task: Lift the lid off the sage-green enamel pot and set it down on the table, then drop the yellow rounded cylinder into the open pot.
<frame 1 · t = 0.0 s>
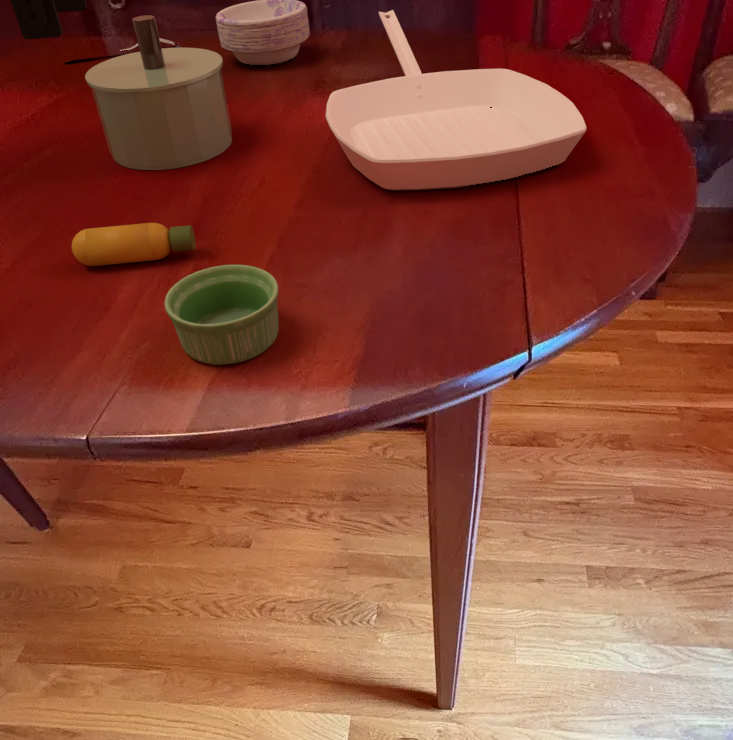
hand: (57, 23, 64), 20 cm above the table, tool pointing down, fingers open, 9 cm apart
chocolate cake: (178, 107, 107), on the table
pot: (172, 145, 95), on the table
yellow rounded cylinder: (127, 260, 71), on the table
lid: (155, 70, 89), point 9 cm above the table, touching pot
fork: (124, 55, 132), on the table
pan: (429, 125, 96), on the table
ramekin: (231, 339, 60), on the table
paper bowls: (268, 60, 124), on the table
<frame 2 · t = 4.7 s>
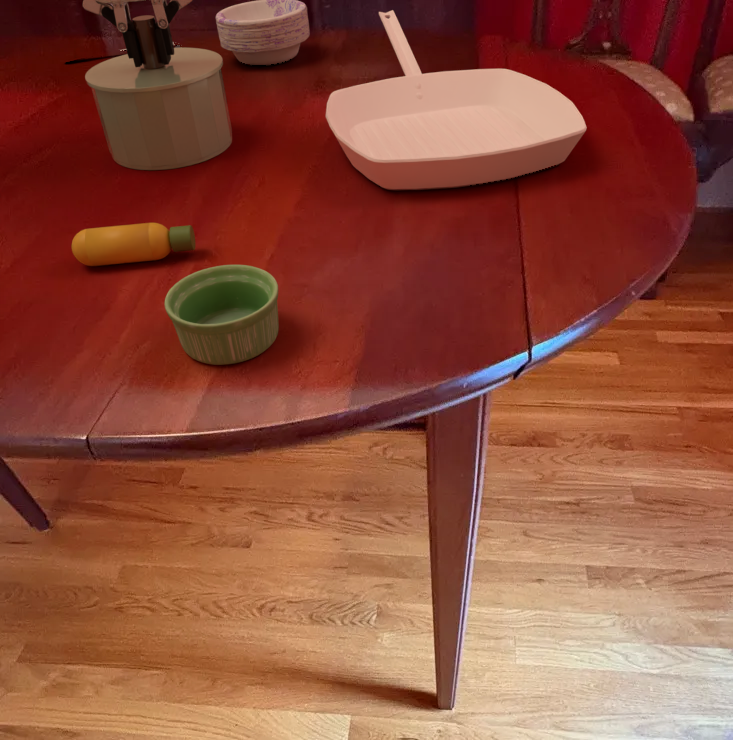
hand: (153, 61, 88), 11 cm above the table, tool pointing down, fingers closed on lid, 2 cm apart
lid: (155, 70, 89), point 10 cm above the table, touching gripper, pot
everything else where it was.
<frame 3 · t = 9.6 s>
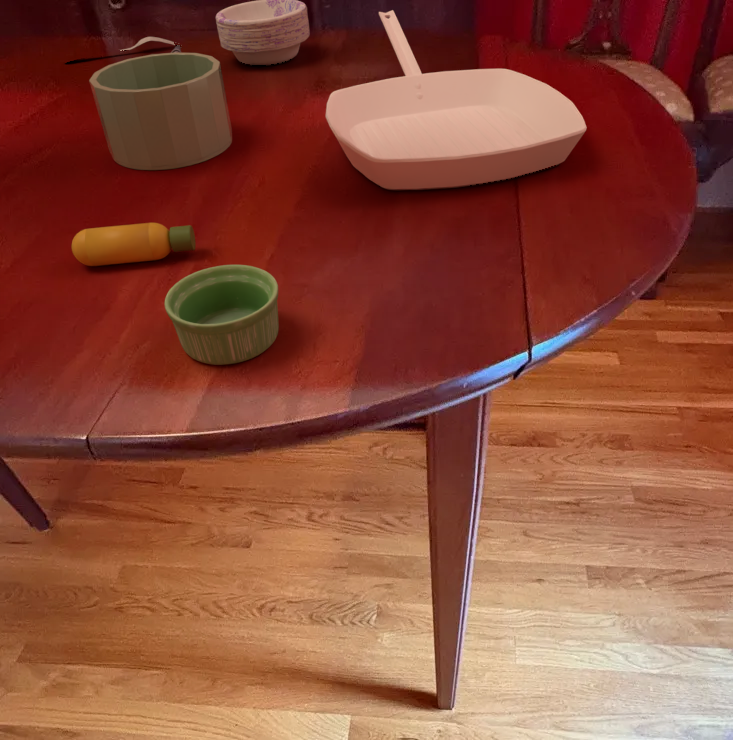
when the fingers open (2 cm above the table, at t = 14.6 s): lid stays where it is, point 1 cm above the table.
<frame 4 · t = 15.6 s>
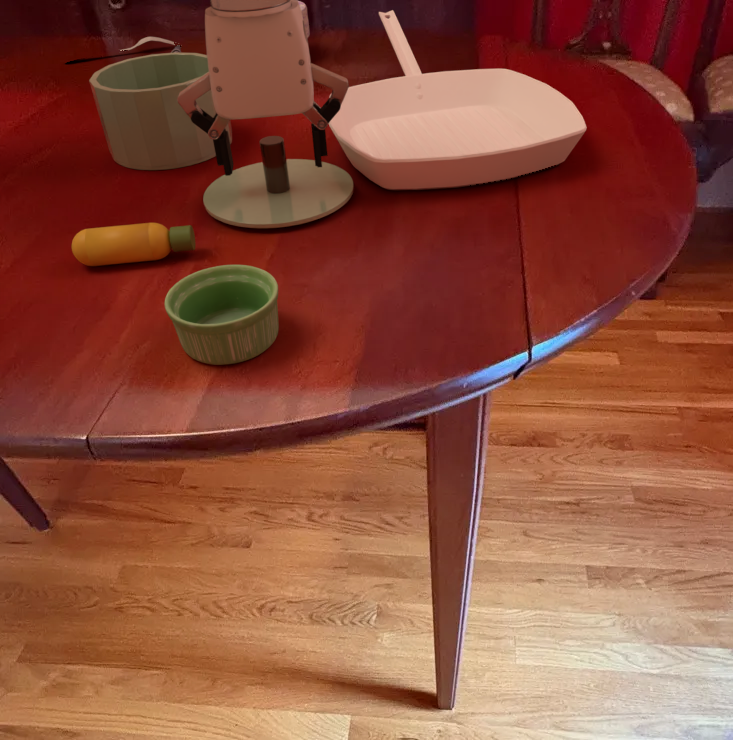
hand: (274, 166, 78), 4 cm above the table, tool pointing down, fingers open, 9 cm apart
lid: (279, 193, 80), point 1 cm above the table
everything else where it was.
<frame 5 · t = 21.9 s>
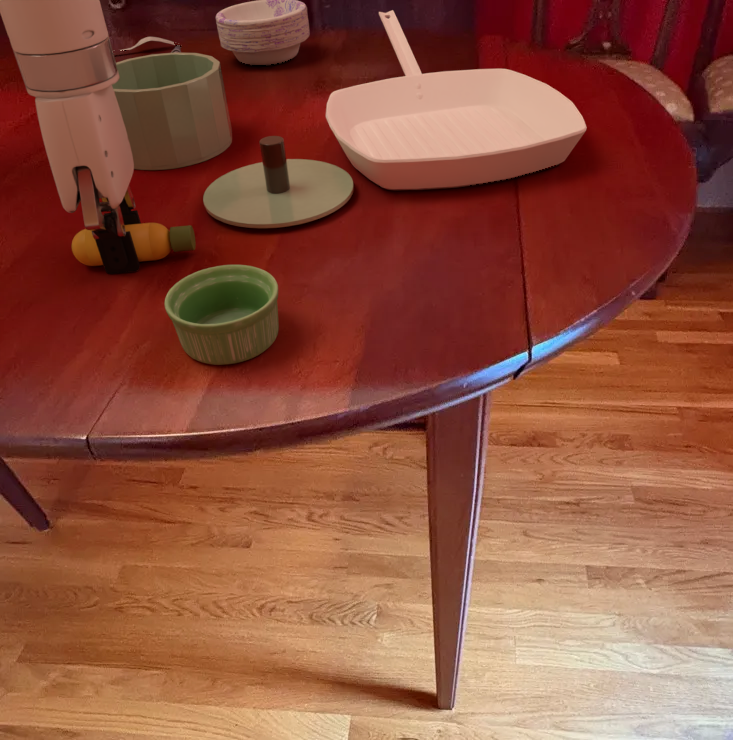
hand: (126, 258, 71), 0 cm above the table, tool pointing down, fingers closed on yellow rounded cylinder, 3 cm apart
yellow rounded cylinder: (127, 260, 71), on the table, touching gripper
everything else where it was.
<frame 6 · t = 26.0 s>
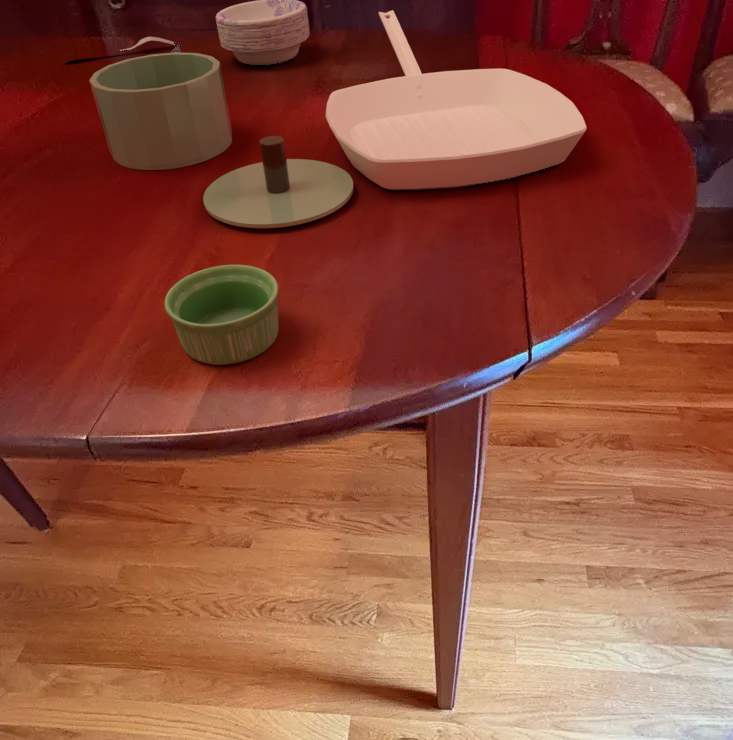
when the fingers open (7 cm above the table, at t = 30.4 s): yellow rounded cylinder drops 6 cm, resting on pot.
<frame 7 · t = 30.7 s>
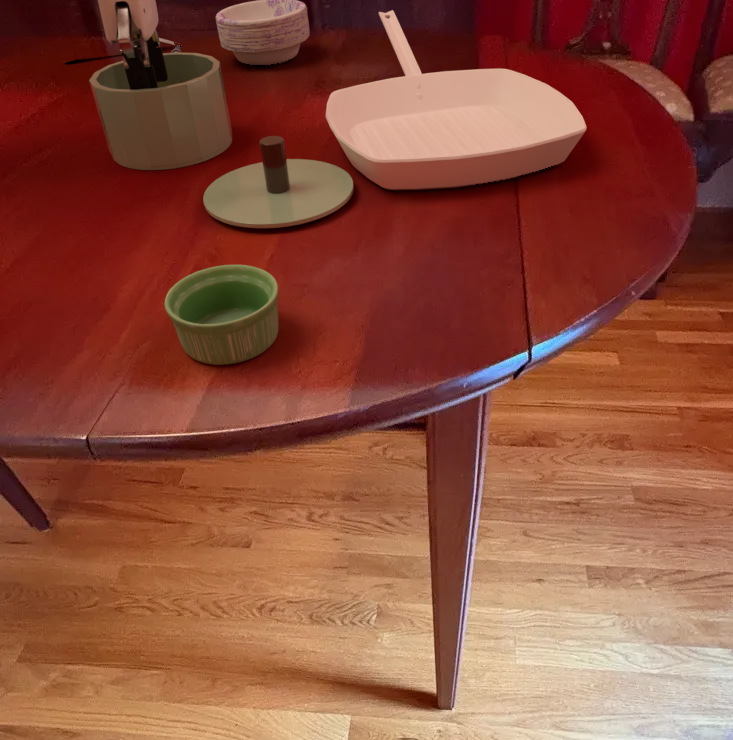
hand: (151, 89, 90), 7 cm above the table, tool pointing down, fingers open, 7 cm apart
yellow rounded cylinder: (164, 142, 94), point 1 cm above the table, touching pot
everything else where it was.
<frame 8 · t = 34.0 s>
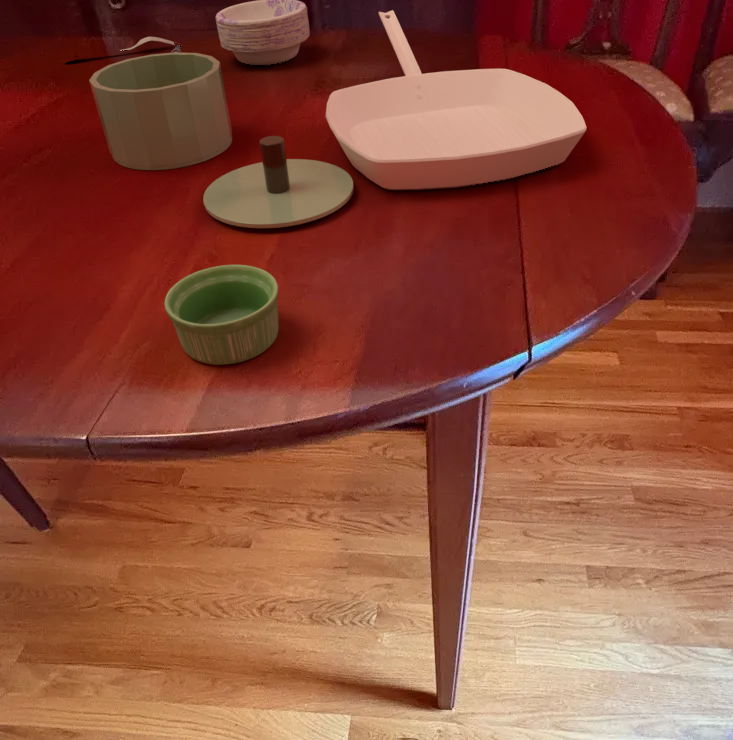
nothing on the table moved.
at the end: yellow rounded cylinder inside the target area in the pot (1.0 cm from its centre), point 0.5 cm above the pot's base; lid inside the target area (0.5 cm from its centre), point 0.6 cm above the table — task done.
